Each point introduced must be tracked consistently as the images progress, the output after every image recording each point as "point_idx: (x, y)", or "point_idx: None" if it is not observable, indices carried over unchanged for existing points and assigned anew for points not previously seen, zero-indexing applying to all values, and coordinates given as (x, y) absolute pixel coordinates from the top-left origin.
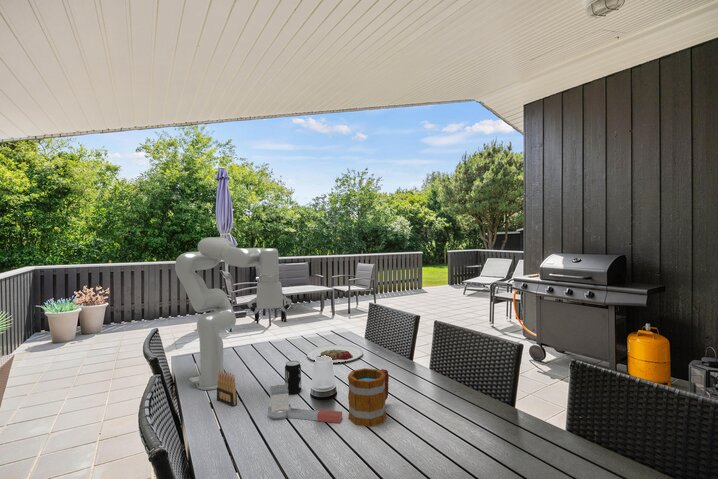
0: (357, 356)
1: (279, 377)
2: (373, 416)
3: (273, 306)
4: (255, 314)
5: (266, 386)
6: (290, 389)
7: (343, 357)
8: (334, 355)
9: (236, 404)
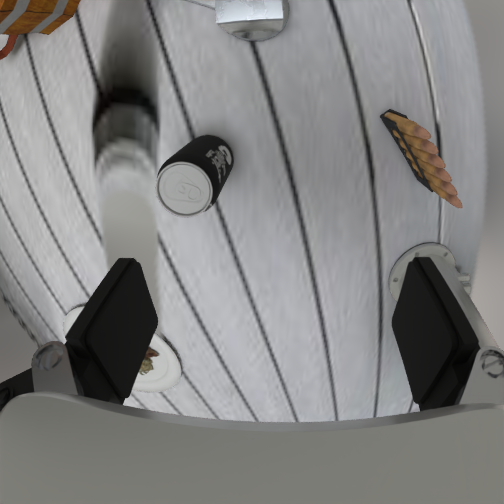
0: (70, 321)
1: (249, 273)
2: None
3: (156, 444)
4: (473, 348)
5: (290, 221)
6: (214, 139)
7: None
8: None
9: (382, 115)
